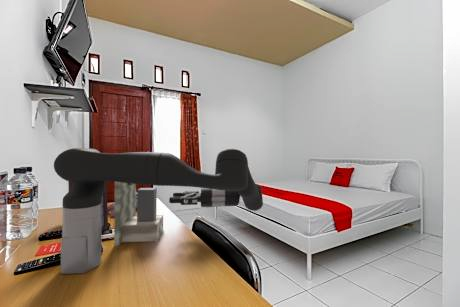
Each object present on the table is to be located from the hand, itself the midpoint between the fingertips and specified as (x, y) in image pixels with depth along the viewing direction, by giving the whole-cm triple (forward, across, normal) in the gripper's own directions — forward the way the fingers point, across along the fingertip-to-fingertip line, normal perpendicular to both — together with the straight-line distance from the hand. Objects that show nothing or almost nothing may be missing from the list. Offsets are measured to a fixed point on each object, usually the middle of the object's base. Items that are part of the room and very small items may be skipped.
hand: (171, 197), depth 87 cm
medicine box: (+27, -43, +15) cm, 53 cm away
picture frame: (+34, -2, +15) cm, 37 cm away
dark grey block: (+9, 0, +8) cm, 13 cm away
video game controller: (+34, -30, +15) cm, 48 cm away
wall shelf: (+10, 0, +14) cm, 18 cm away
